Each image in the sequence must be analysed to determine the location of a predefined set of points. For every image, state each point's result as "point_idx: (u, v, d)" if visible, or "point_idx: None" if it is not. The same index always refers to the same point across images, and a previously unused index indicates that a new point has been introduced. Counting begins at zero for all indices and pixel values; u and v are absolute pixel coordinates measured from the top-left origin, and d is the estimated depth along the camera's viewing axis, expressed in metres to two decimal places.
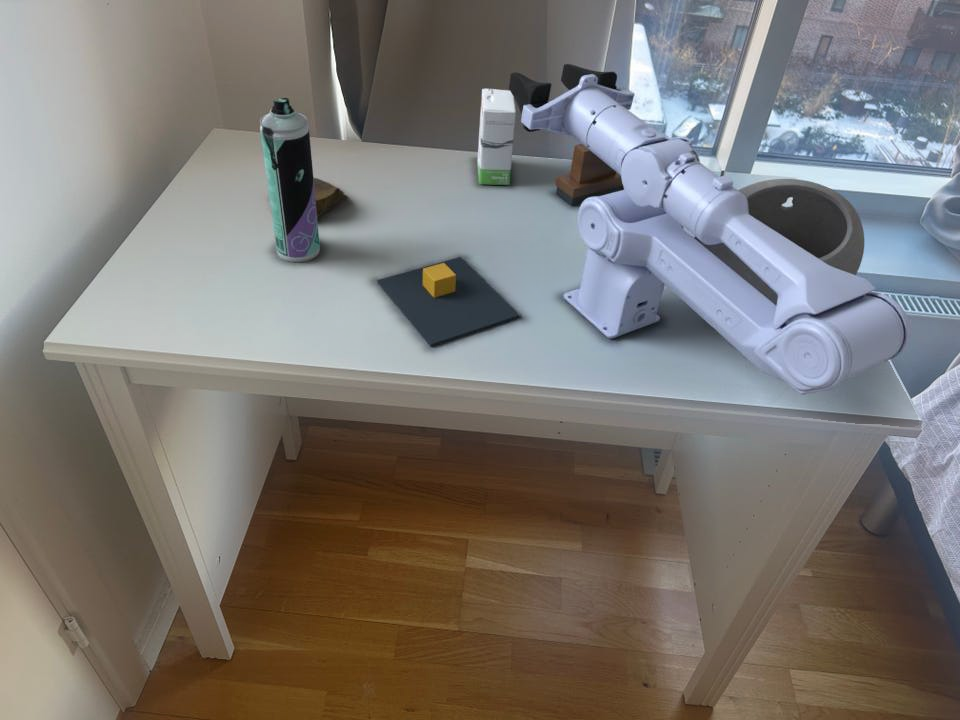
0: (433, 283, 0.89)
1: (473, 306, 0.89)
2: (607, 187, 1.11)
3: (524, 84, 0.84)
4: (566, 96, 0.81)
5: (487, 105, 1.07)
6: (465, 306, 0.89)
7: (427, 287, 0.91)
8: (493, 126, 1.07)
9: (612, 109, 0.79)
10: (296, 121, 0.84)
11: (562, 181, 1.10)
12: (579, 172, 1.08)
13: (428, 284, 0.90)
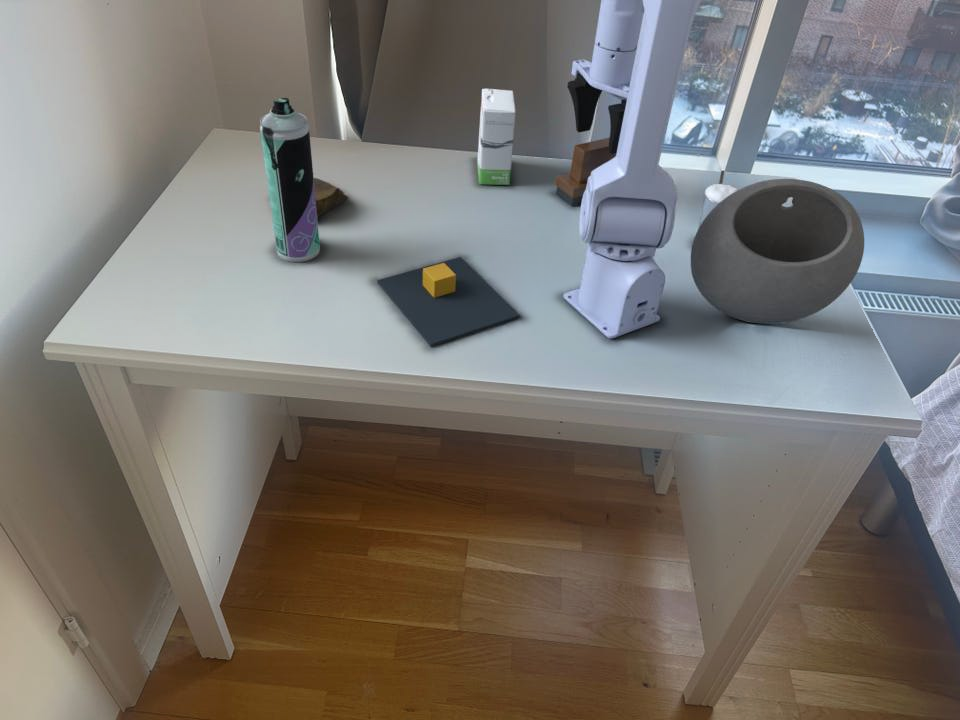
0: (433, 283, 0.89)
1: (473, 306, 0.89)
2: None
3: None
4: None
5: (487, 105, 1.07)
6: (465, 306, 0.89)
7: (427, 287, 0.91)
8: (493, 126, 1.07)
9: None
10: (296, 121, 0.84)
11: (562, 181, 1.10)
12: (579, 172, 1.08)
13: (428, 284, 0.90)
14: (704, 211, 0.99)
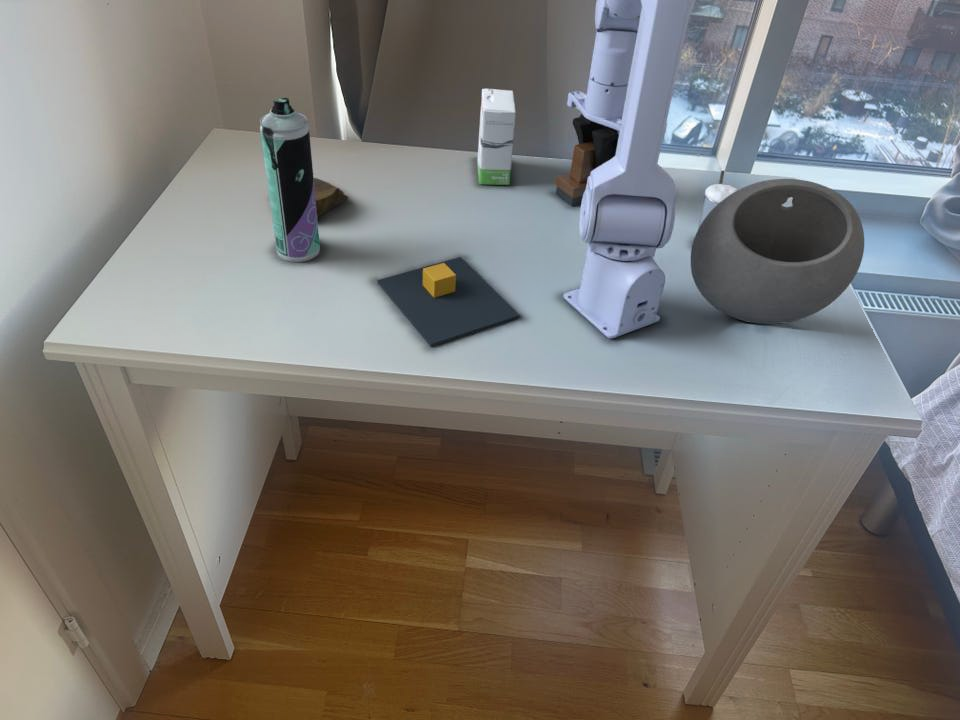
0: (433, 283, 0.89)
1: (473, 306, 0.89)
2: None
3: None
4: None
5: (487, 105, 1.07)
6: (465, 306, 0.89)
7: (427, 287, 0.91)
8: (493, 126, 1.07)
9: None
10: (296, 121, 0.84)
11: (562, 181, 1.10)
12: (579, 172, 1.08)
13: (428, 284, 0.90)
14: (704, 211, 0.99)
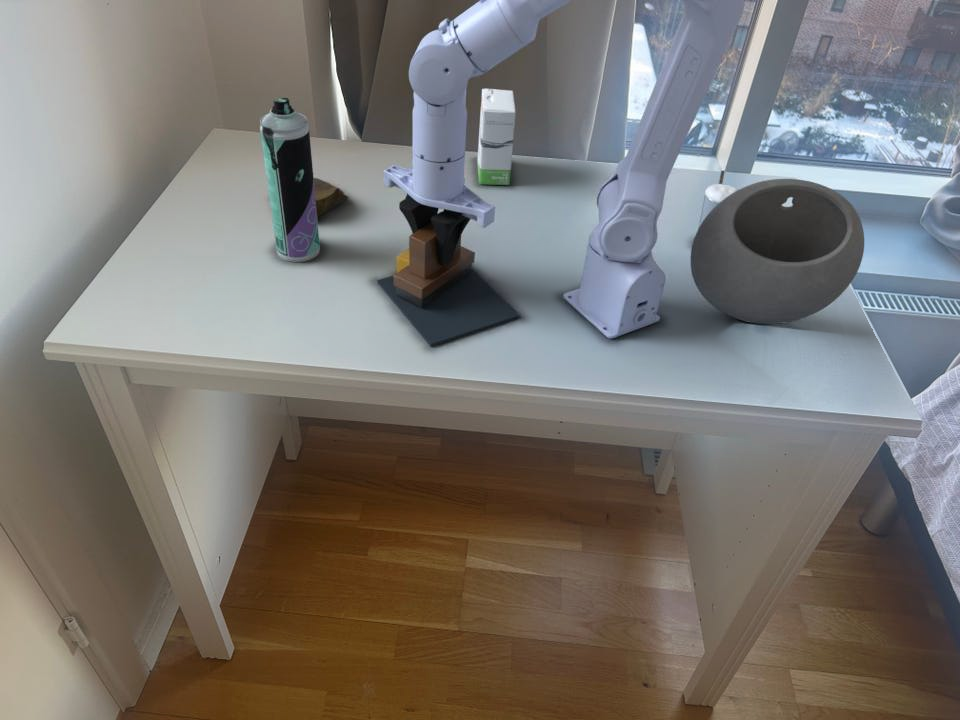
0: None
1: (473, 306, 0.89)
2: (455, 273, 0.91)
3: None
4: None
5: (487, 105, 1.07)
6: (465, 306, 0.89)
7: None
8: (493, 126, 1.07)
9: None
10: (296, 121, 0.84)
11: (403, 280, 0.87)
12: (423, 266, 0.86)
13: None
14: (704, 211, 0.99)
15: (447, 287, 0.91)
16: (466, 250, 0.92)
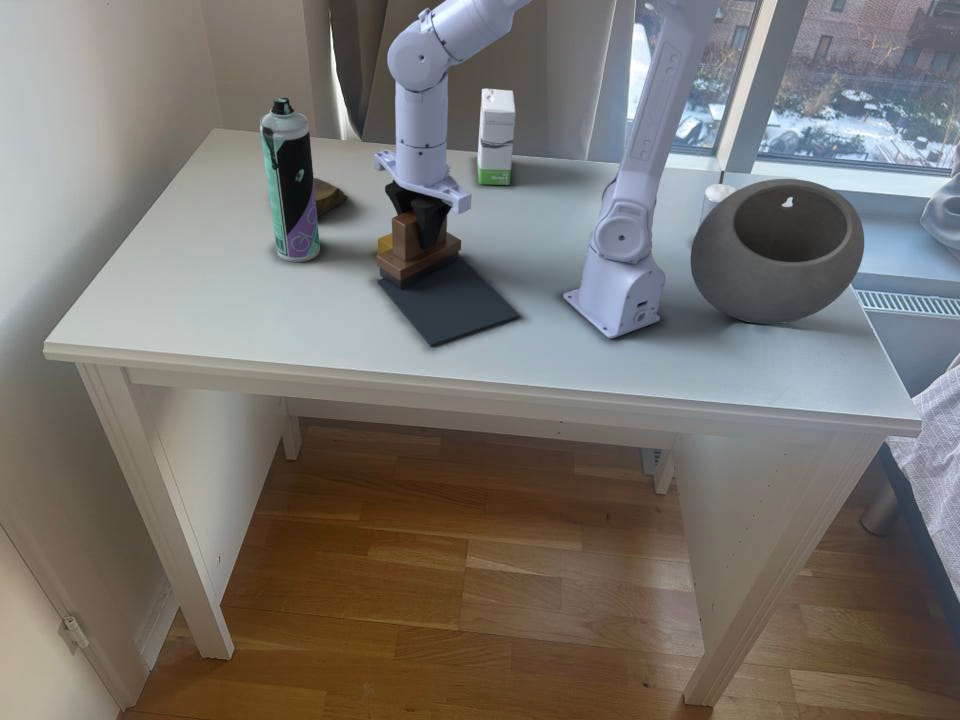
0: None
1: (473, 306, 0.89)
2: (439, 259, 0.93)
3: None
4: None
5: (487, 105, 1.07)
6: (465, 306, 0.89)
7: None
8: (493, 126, 1.07)
9: None
10: (296, 121, 0.84)
11: (384, 261, 0.90)
12: (403, 249, 0.89)
13: None
14: (704, 211, 0.99)
15: (430, 272, 0.93)
16: (453, 237, 0.95)
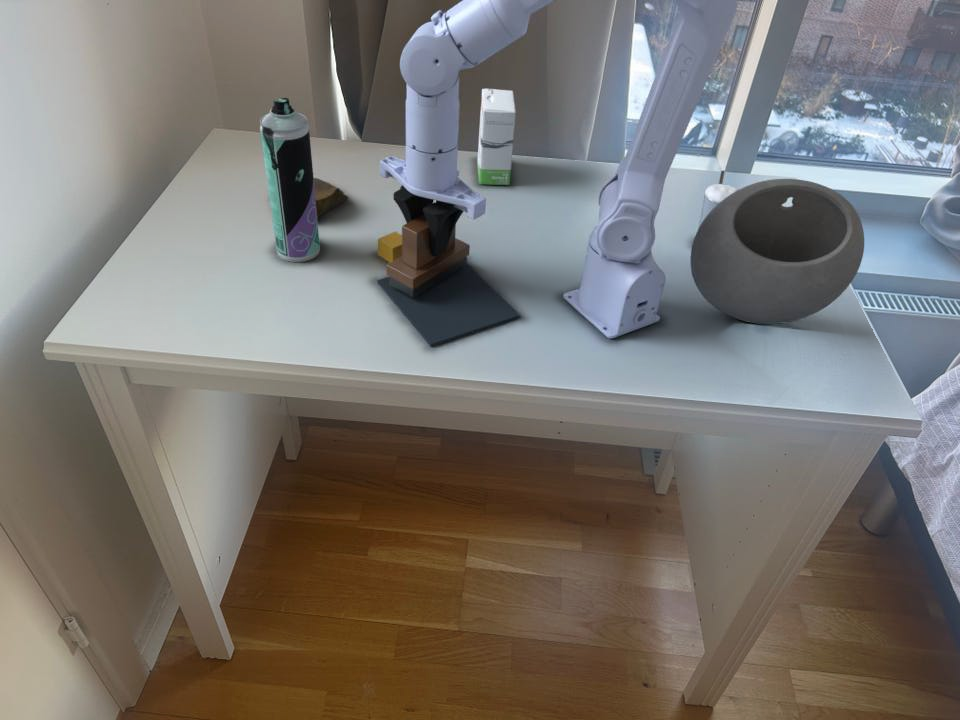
0: (391, 250, 0.94)
1: (473, 306, 0.89)
2: (449, 265, 0.91)
3: None
4: None
5: (487, 105, 1.07)
6: (465, 306, 0.89)
7: (384, 256, 0.96)
8: (493, 126, 1.07)
9: None
10: (296, 121, 0.84)
11: (395, 270, 0.88)
12: (415, 256, 0.87)
13: (385, 253, 0.95)
14: (704, 211, 0.99)
15: (440, 278, 0.91)
16: (461, 243, 0.93)
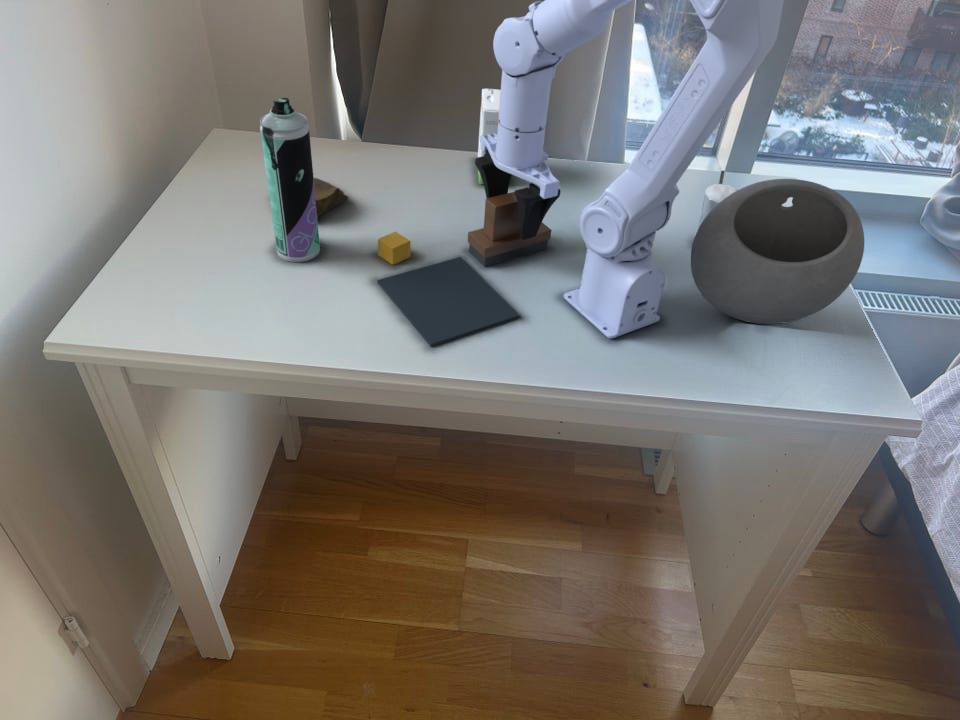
0: (391, 251, 0.94)
1: (473, 306, 0.89)
2: (526, 244, 0.98)
3: None
4: None
5: (487, 105, 1.07)
6: (465, 306, 0.89)
7: (384, 256, 0.96)
8: (493, 126, 1.07)
9: None
10: (296, 121, 0.84)
11: (473, 238, 0.96)
12: (492, 229, 0.95)
13: (385, 253, 0.95)
14: (704, 211, 0.99)
15: (516, 255, 0.98)
16: (544, 226, 0.99)
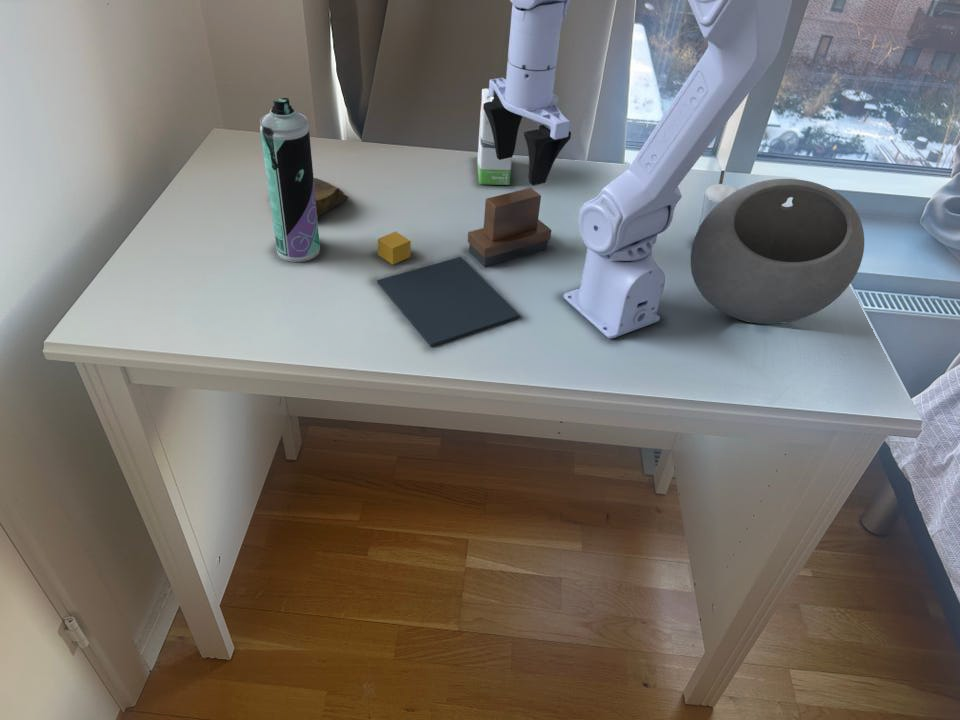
0: (391, 251, 0.94)
1: (473, 306, 0.89)
2: (526, 244, 0.98)
3: None
4: None
5: None
6: (465, 306, 0.89)
7: (384, 256, 0.96)
8: None
9: None
10: (296, 121, 0.84)
11: (473, 238, 0.96)
12: (492, 229, 0.95)
13: (385, 253, 0.95)
14: (704, 211, 0.99)
15: (516, 255, 0.98)
16: (544, 226, 0.99)
